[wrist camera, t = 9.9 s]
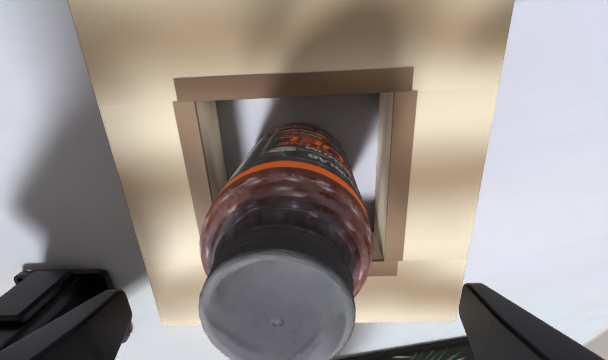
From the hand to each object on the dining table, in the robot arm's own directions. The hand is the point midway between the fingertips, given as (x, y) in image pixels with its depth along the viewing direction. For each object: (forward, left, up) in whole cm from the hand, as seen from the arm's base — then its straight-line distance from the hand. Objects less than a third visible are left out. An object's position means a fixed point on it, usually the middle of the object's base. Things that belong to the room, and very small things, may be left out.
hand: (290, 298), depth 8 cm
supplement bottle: (0, 0, -11) cm, 11 cm away
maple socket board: (0, 0, -11) cm, 11 cm away
